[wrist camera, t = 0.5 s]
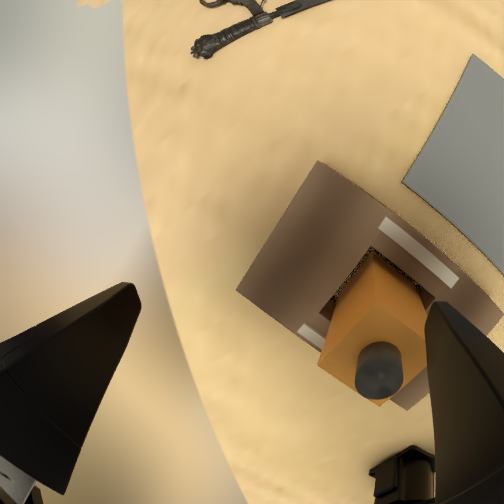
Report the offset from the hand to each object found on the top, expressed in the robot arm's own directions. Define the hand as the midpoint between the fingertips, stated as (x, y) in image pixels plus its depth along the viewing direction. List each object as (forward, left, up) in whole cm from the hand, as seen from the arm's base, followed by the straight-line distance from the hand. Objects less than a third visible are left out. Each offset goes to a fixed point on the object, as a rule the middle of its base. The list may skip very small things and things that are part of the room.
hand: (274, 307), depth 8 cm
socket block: (-5, +1, -13) cm, 14 cm away
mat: (-10, -12, -13) cm, 20 cm away
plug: (-5, +1, -13) cm, 14 cm away
